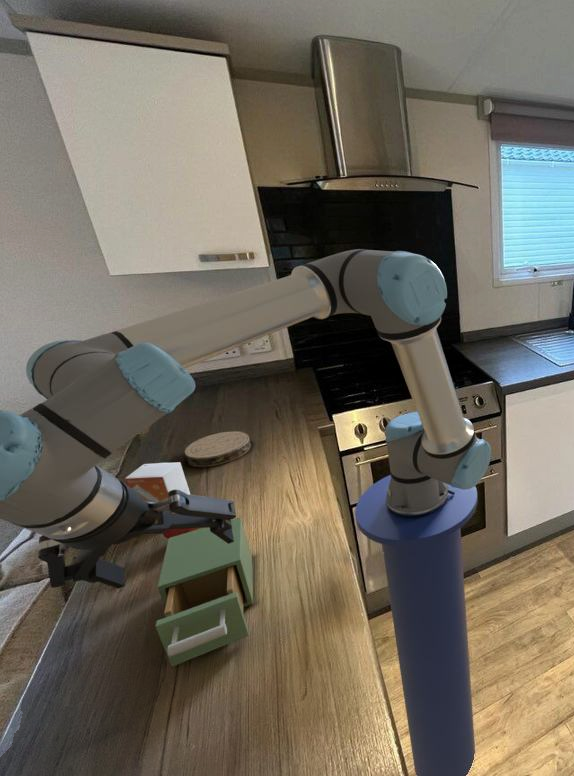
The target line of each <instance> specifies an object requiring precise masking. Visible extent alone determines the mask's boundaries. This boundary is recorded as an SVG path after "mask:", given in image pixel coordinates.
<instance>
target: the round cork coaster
mask: <svg viewBox="0 0 574 776" xmlns="http://www.w3.org/2000/svg"><path fill="white" fill-rule="evenodd" d="M251 446H252V444H251V440H250V436H249V435H248V433H245V432H243V431H237V430H236V431H235V430H233V431H224V432H218V433H214V434H213V433H212V434H210V435H207V436H204V437H201V438H199V439H197V440H195V441H193V442H191V443H190V444H189V445H188V446H187V447H185V450H184V454H185V457H186V461H187V464H188V465H190V466H192V467H197V468H204V467H205V468H206V467H214V466H219V465H223V464H226V463H229V462H233V461H235V460H237V459H239V458H241V457H242V456H243V455H246V453H248V452H249V451H250V449H251Z"/></svg>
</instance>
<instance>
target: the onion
mask: <svg viewBox="0 0 574 776" xmlns="http://www.w3.org/2000/svg"><path fill="white" fill-rule="evenodd" d="M191 531H195V530H194V528H189V529H170V530H166V531H165V532H164V533H162V535H163V537H164V538H165V539H167V540H168V539H169V538H171V537H174V536H178V535H181V534H184V533H188V532H191Z"/></svg>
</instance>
